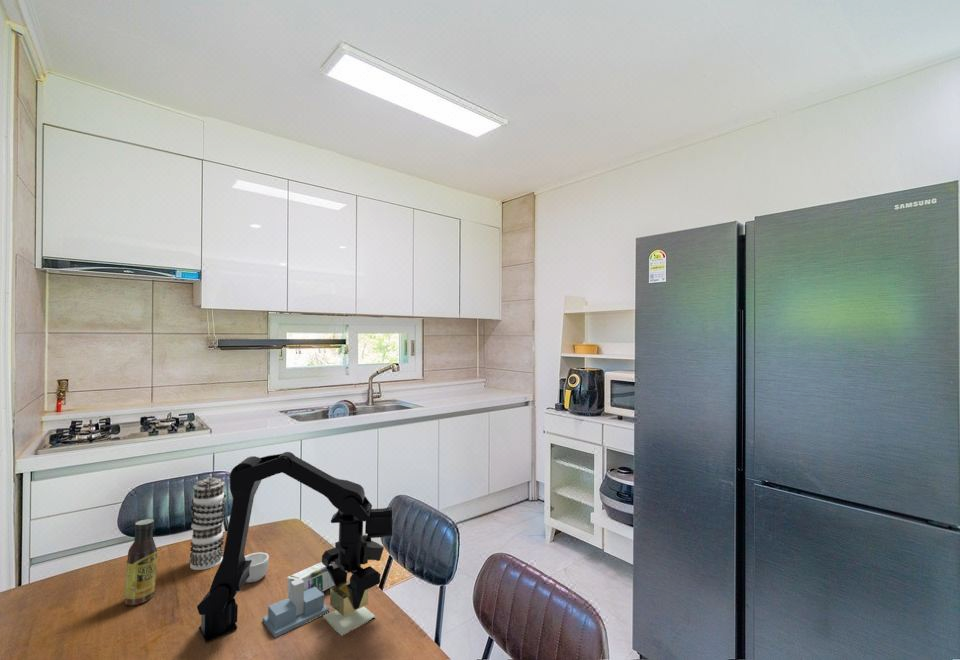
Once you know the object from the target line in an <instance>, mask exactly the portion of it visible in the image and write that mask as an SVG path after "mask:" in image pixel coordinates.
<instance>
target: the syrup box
mask: <svg viewBox="0 0 960 660" xmlns="http://www.w3.org/2000/svg"><path fill="white" fill-rule="evenodd" d="M299 578H301V579H302V580H303V581H304V591H306V590H308V589H311V588H313V587H316V588H317V589H318V590H319V591H320V592H323V593H324V591H326V590H329V589H330V588H332V587H335V584H334V582H333V580H332V578H331V576H330V574H329V572H328V570H327V569H326V566H325V565H324V564H322V561H321V562H318V563H316V564H314V565H311V566H310V567H307V568H304V569H302V570H300V571H298V572H296V573H294V574H291V575H289V576H287V577H286V580H287V593H288V594H287V596H288V597H287V598H288V599H289V600H290V582H291V581H294V580H296V579H299Z"/></svg>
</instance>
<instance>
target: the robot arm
mask: <svg viewBox="0 0 960 660" xmlns="http://www.w3.org/2000/svg"><path fill="white" fill-rule="evenodd" d="M282 473H283V475H287V476H288V477H290V478H291V479H293V480H295V481H296V482H299V483H301V484H303V485H304V486H306V487H308V488H310V489H312V490H313V491H316V492H318V493H319V494H321V495H323V496H324V497H325V498H326V499H328V501H329V502H330V503H331V505H333V506H334V508H336V510H337V511H336V512H335V513H334V514H333V515H332V516H331V520H330V523H331V524H338V525H339V526H338V541H337V542H335V543H334V545H335V546H334V547H332V548H330V549H328V550H325V551H324V552H323V553H322V555H321V562H322V564H324V565H325V566H326V569H327V570H328V572H329V574H330V576H331V578H332V580H333V582H334V584H335V585H334V587H335V586H337V585H339V584H342V583H344V582H346V581H348V580H347V578H348V574H349V573H351V576H350V577H349V580H350V584H349V585H347V588H348V591H349V594H350V598H351V601H352V604H353V607H354V609H358V608H359V606H360V603H361V600H362V597H363V595H364V592H365V590H367V589H368V590H369V589H370V588H373V587H375V586H378V585H380V584H381V573H380V572H379V571H378V570H376V569H375V568H373V567H372V566H370V565H369V566H366V567H365V568H363V567H362V565H366V564H369V563H368V562H369V561H377V562H380V561H381V559H382V555H383V552H384V549H385V547H384V546H382V545H381V544H379V543H378V542H376V541H374V540H372V539H375V538H377V539H379V538H393V537H394V535H393V533H394V516H393V515H394V514H393V511H394V510H393V509H394V508H393V507H391V506H390V507H384V508H373V504H372V503H371V502H370V500H369V499H368V498H367V497H366V493H365V490H364V489H365V488H363V486H362V485H361V484H359V483H355V482H353V481H350V480H346V479H341V478H337V477H334V476H332V475H330V474H329V473H326V472H325V471H324V470H321V469H320V468H318V467H316V466H314V465H313V464H310V463H309V462H307V461H305V460H303V459H302V458H300V457H297V456H296V455H295V454H294V453H292V452H290V451H285V452H283V453H278V454H270V455H265V456H262V457H259V456H248V457H246V458H245V459H243V460H242V461H241V462H240V463H238V464H236V465H235V466H234V467H233V468H232V469H231V470H230V474H229V490H230V494H231V498H232V501H231V502H232V503H231V507H230V508H231V509H230V514H229V520H228V525H227V532H226V538H225V543H224V547H223V556H222V557H223V559H222V562H221V563H219V566H218V567H217V568H218V569H217V570H216V573H215V574H214V577H213V579H212V582H211V585H210V588H209V591H207V593H206V594H205V596H204V597H203V598H202V599H201V600H200V602H199V604H197V606H196V609H197V613H198V614H199V615H200V616H201V618H200V619H201V621H200V623H201V624H200V626H199V627H198V631H199V633H200V635H201V637H202V638H203V641H204V642H205V643H208V642H211V641H213V640H215V639H217V638H221V637H222V636H225V635H228V634H230V633H233V632H234V631H236V630H237V629H238V625H237V622H238V611H239V609H238V606H239V605H238V604H237V602H236V598H235V597H236V595H237V594H238V592H240V591H241V589H242V587H243V586H244V585H245V583H247V582H246V580H247V579H248V577H249V576H250V574H249V568H250V565H251V562H252V560H248V561H246V560H245V556H246V555H245V549H246V544H247V539H248V533H249V526H250V523H251V516H252V509H253V505H254V499H255V496H256V493H257V491H258V489H259V488H260V487H259V486H260V485H261V482H262V480H265V479H267V478H270V477H272V476H276V475H279V474H282ZM364 522H365V529H364Z"/></svg>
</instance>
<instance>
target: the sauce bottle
mask: <svg viewBox="0 0 960 660" xmlns="http://www.w3.org/2000/svg"><path fill="white" fill-rule="evenodd" d="M154 526H155V520H154V519H152V518H147V519H141V520H138V521H137V522H135V523H134V530H135V531H134V540H133V543H132V544H131V546H130V547H129V550H127V551H128V552H127V561H126V567H125V568H126V569H125V582H124V595H123V596H124V604H125V605H127V606H137V605H140V604H143V603H146V602H148V601H149V600H150V599H151V598H153V597H154V595H155V591H156V590H155V589H156V577H157V576H156V575H157V561H158V550H157V549H158V548H157V545H156V542H155V540H154V534H153V533H154Z"/></svg>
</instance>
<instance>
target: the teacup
mask: <svg viewBox="0 0 960 660" xmlns="http://www.w3.org/2000/svg"><path fill="white" fill-rule="evenodd" d="M244 556H245V560H246V561H248V560H252V562H251V565H250V568H249V574H250V576H249V577H248V579H247V580H246V582H245V583H248V584H249V583H251V584H252V583H255V582H258V581H260V580H261V579H262V578H263V577H264V576H265V575H266V574H267V572H268V569H269V563H270V556H269V554H268V553H266V552H261V551H260V552H259V551H258V552H253V553H249V554H247V555H244Z"/></svg>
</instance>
